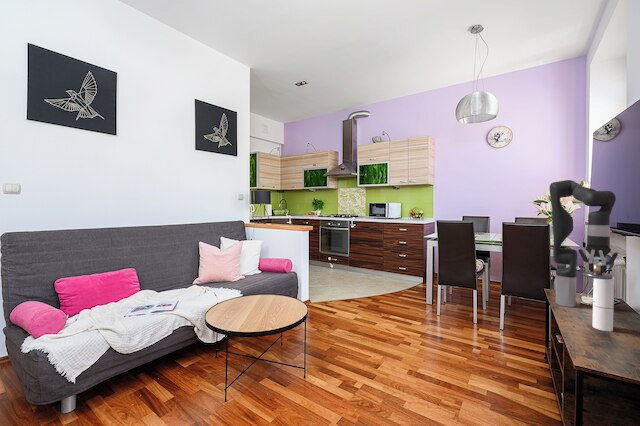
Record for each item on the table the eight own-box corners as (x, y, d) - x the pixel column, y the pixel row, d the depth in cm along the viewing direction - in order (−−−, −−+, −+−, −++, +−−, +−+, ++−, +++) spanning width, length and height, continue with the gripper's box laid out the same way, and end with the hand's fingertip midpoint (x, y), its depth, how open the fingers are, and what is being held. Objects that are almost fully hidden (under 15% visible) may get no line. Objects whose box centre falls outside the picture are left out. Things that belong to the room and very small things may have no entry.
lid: (577, 273, 140) (578, 262, 140) (603, 274, 137) (603, 263, 137) (590, 278, 130) (590, 267, 130) (618, 280, 127) (618, 268, 127)
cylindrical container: (606, 325, 144) (607, 275, 143) (616, 332, 137) (618, 279, 136) (589, 324, 146) (590, 274, 145) (598, 330, 139) (599, 278, 138)
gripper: (575, 234, 136) (575, 270, 137) (618, 236, 125) (617, 276, 126) (580, 233, 141) (579, 268, 141) (622, 235, 129) (621, 274, 130)
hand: (597, 272), depth 134 cm, fingers closed on lid, 3 cm apart
